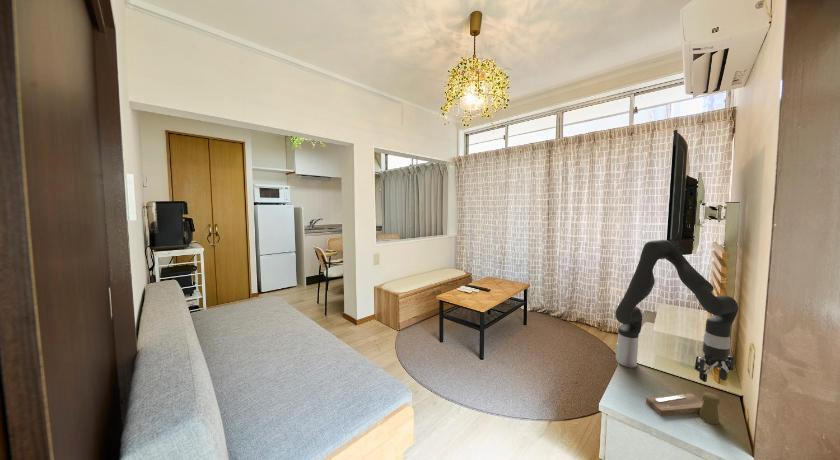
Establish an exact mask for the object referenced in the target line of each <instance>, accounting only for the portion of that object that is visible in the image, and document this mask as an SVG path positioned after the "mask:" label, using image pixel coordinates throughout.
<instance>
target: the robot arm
mask: <svg viewBox="0 0 840 460" xmlns="http://www.w3.org/2000/svg"><path fill="white" fill-rule="evenodd" d="M664 259H665V260H666V261H668V262H669V263H671V264H672V265H673V267H674V268H675V270H676V272H677V275H678V277H679V280H680V281H681V282H682V284H683V285H684V286H685V287H686V288H687V289H688V290H690V291H691V293H693V294H694V296H695V298H696V299H697V301H698V303H699V304H700V305H701V307H702V308H703V309H704V310H705V311H706V312H707V313H709V314H711V316H710V317H708V318H706V321H705V331H704V334H703V343H702V352H703V353H704V355H703V357H700V356H696V357H695V363H694V370H695V371H697V372H699V375H698V376H699V377H698V378H699V380H701V381H702V382H704V383H706V382H707V380H708V373H709V372H710V371H712V370H713V369H716V368H718V369H719V370H718V371H719V372H718V378H719V379H720V380H722V381H727V379H728V373H729V372H730V371H731V372H732V371H734V364H735V362H734V361H735V357H733V356H732V355H730V351H731V349H730V347H731V329H732V325H733V324H734V321H735V320H736V319H735V318H737V315H738V311H739V305H738V302H737V301H736V300H735V299H734V298H733V297H731V296H730V295H729V296H728V295H717V296H715V294H713V291H714V285H712V283H710V281H708V280H707V279H706V278H705V277H704V276H703V275H701V274H700V273H699V272H698V270H696V269H695V268H694V267H693V266H692V265H691V263H690V262H689V261H688V260H687V258H686V257H685V256H684V255H683V254H682V252H681V251H680V250H679V249H678V247H677V246H676V245H675V244H674V243H673V242H672V241H669V240H668V239H656V240H655V239H653V240H649V241H647V242H646V243H645V244H644V245H643V247H642V251H641V254H640V257H639V261H638V263H637V266H636V269H635V272H634V274H633V276H632V277H631V280H630V283H629V285H628V287H627V290H626V291H625V294H624V296H623V298H622V299H621V301H620V302H619V303H618V306H617V308H616V309H615V313H614V315H615V318H616V320H617V322H618V323H620V324H622V325H619V327H618V329H617V331H618V332H617V343H615V344H616V345H615V359H616V362H617V363H618V364H619V365H621V366H623V367H625V368H636V367H637V366H638V354H639V353H638V351H639V350H638V349H639V336H640V333H641V331H642V324H643V313H642V310H641V309H640V308H639V307H638V304H640V303H641V302H642V301H644V300H645V299H646V298H647V297H648V296H649V295H650V294H651V292H652V290H653V288H654V285H655V284H656V279H655V275H654V268H655V265H656V264H657V262H658V261H659V260H664Z"/></svg>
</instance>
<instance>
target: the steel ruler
mask: <svg viewBox="0 0 840 460" xmlns="http://www.w3.org/2000/svg"><path fill="white" fill-rule="evenodd" d="M677 395H678V396H671V397H665V398H658V399H655V400H657V401H658V402H665V401H671V400H678V399H685V398H686V397H685V396H683V395H681V394H677Z"/></svg>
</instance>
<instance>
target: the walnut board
mask: <svg viewBox="0 0 840 460" xmlns="http://www.w3.org/2000/svg"><path fill="white" fill-rule="evenodd" d="M678 395H679V394H673V395H672V394H671V395H660V396H659V395H658V396H648V397H645V403H646V404H647V406H649V407H650V408H651V409H653V410H654V411H655V412H656V413H657V414H659V415H660V417H665V416H674V415H675V416H676V415H685V414H697V413H698V414H699V413H700V410H701V407H702V404H703V401H704V400H701V399H700V398H699V397H697V396H696V395H694V394H693V393H684V394H680V395H683V396H685V397H686V398H685V399H678V400H671V401H665V402H658V401H657V400H655V399H658V398H665V397H671V396H678Z"/></svg>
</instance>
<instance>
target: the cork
mask: <svg viewBox="0 0 840 460" xmlns="http://www.w3.org/2000/svg"><path fill="white" fill-rule="evenodd" d="M701 398H702V401H703V404H702V407H701V410H700V412H699V413H698V414H699V415H698V416H699V418H700V419H701V420H702V421H704V422H706V423H708V424H711V425H719V423H720V418H719V417H720V416H719V408H718V407H719V405H720V403H721V401H720V398H719V397H718V396H717V395H715V394H714V393H711V392H703V393H702V397H701Z"/></svg>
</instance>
